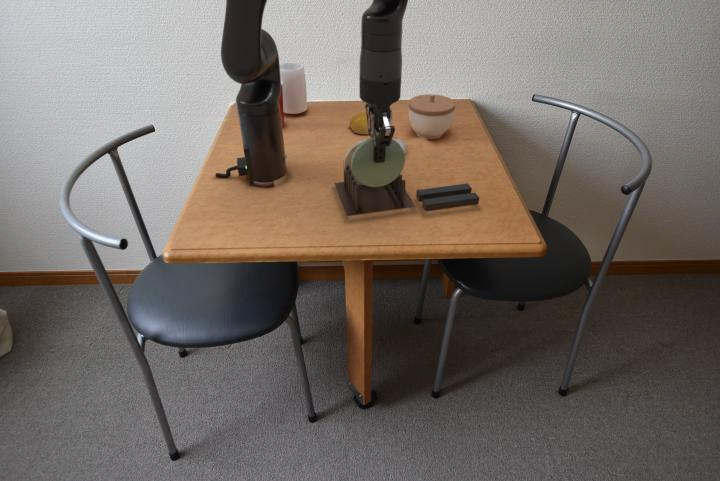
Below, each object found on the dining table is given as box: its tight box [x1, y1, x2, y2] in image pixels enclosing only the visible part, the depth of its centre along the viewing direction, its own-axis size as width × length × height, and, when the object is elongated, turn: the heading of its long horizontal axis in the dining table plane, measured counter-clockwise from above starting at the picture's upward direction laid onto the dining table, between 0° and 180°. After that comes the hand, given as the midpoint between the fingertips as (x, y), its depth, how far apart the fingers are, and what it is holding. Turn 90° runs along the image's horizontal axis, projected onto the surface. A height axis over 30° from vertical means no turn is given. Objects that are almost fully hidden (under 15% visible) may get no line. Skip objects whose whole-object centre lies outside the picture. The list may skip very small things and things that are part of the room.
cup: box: [279, 61, 308, 115], centre depth 143 cm, size 8×8×14 cm
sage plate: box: [351, 137, 406, 187], centre depth 95 cm, size 11×1×11 cm, turn 103°
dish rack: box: [334, 160, 416, 217], centre depth 104 cm, size 15×14×8 cm
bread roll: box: [348, 112, 370, 135], centre depth 135 cm, size 8×9×4 cm
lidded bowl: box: [407, 93, 456, 140], centre depth 130 cm, size 13×13×11 cm
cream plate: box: [343, 138, 368, 186], centre depth 105 cm, size 11×1×11 cm, turn 103°
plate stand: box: [415, 183, 480, 212], centre depth 103 cm, size 12×6×3 cm, turn 103°
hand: (378, 159), depth 95 cm, fingers closed on sage plate, 1 cm apart
